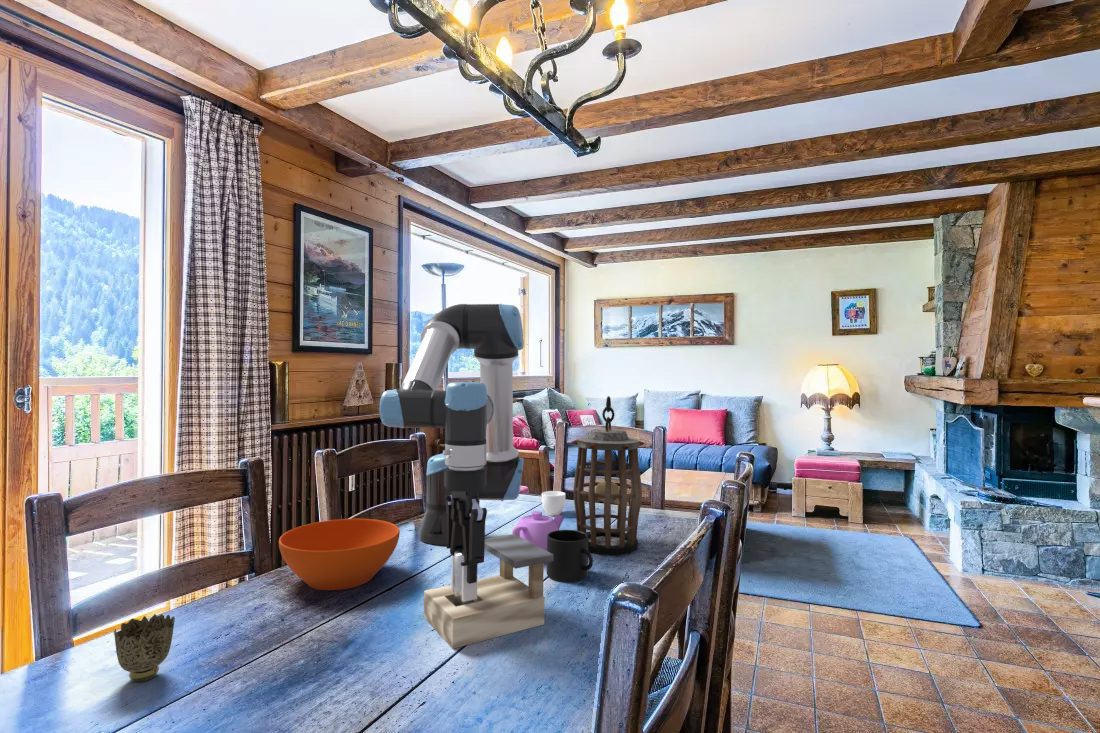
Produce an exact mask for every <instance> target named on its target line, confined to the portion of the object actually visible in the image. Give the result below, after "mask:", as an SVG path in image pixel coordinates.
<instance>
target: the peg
mask: <svg viewBox="0 0 1100 733" xmlns="http://www.w3.org/2000/svg"><path fill="white" fill-rule="evenodd" d="M461 562H464V550H459V551H456V552H455V553H454V605H455V606H456V607H457V606H461V605H465V604H470V603H474V600H469V601H465V602H463V601H462V566H461Z"/></svg>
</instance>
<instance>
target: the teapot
mask: <svg viewBox="0 0 1100 733" xmlns="http://www.w3.org/2000/svg"><path fill="white" fill-rule="evenodd" d="M563 521H564V516H562V515H558V514H556V516H554V518H552V516H549V515H545V514H544V515H543V512H542V511H540V510H539V511H538V510H535V511H532V512H531V515H525V516H522V517H521V518H520V519H519V520H518V522H517V523H516V525H515V526H514V527H513V528H512V533H511V535H512V534H515V535H517V536H519V537H521V538H523V539H525V540H527V541H529V542H531V543H532V544H534V545H536V546H538V547H540V548H542V549H544V550H546V551H547V535H548V534H549V533H550V532H553V531H557V530H560V527H561V526H562V523H563Z"/></svg>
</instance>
